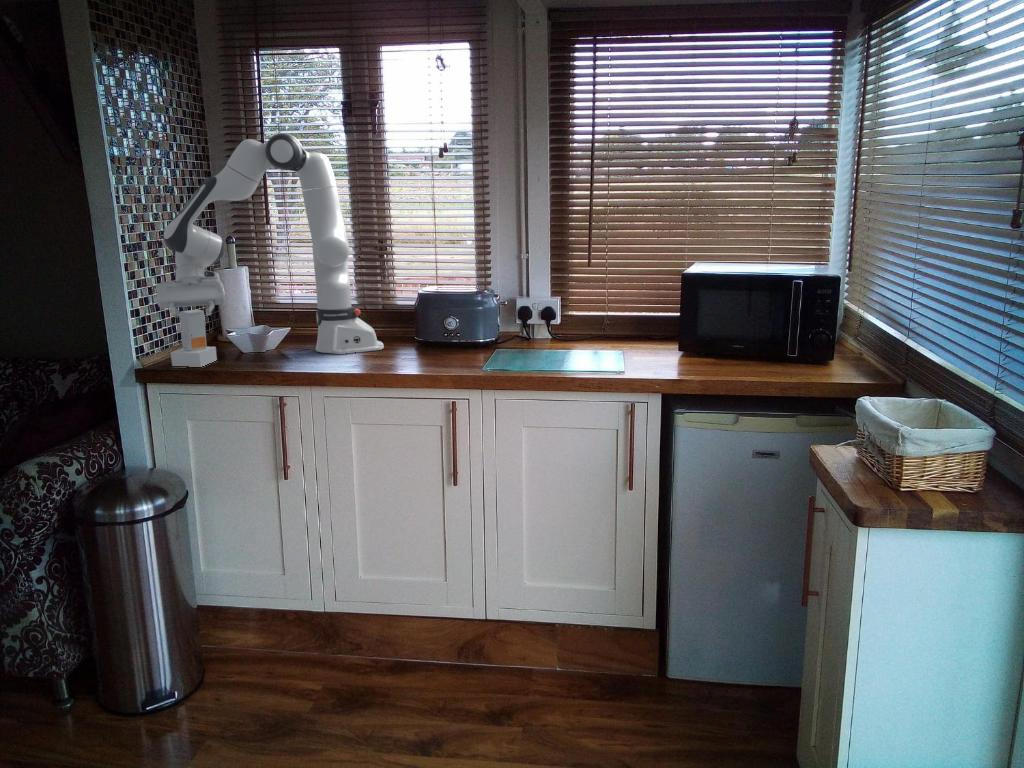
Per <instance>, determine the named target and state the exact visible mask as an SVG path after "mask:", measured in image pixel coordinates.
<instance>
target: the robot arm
mask: <svg viewBox="0 0 1024 768" xmlns="http://www.w3.org/2000/svg"><path fill="white" fill-rule="evenodd" d="M270 168H277V169H278V170H282V171H290V172H291V171H292V172H295V174H297V176H298V179H299V182H300V188H301V193H302V198H303V203H304V207H305V215H306V218H307V223H308V227H309V232H310V237H311V242H312V247H311V248H312V259H313V268H314V280H315V290H316V305H317V307H316V310H315V311H316V313H315V316H316V324H317V326H318V327H317V328H318V329H317V340H316V347H315V351H316V352H318V353H325V354H334V355H345V354H346V353H347V354H355V352H356V353H363V352H371V351H372V352H373V351H380V350H382V349H384V347H385V346H384V343H383V342H382V341H380V340H378V338H377V334H376V332H375V329H374V328H373V327H372V326H371V325H370V324H368V323H367V322H365V321H364V320H362V319H361V318H359V316H360V315H361V313H362V312H361V310H360V308H356V307H354V306H352V294H351V293H352V292H351V279H350V273H349V263H348V258H349V256H350V246H349V245H350V244H349V239H348V235H347V232H346V227H345V222H344V218H343V213H342V208H341V201H340V198H339V192H338V187H337V182H336V177H335V174H334V170H333V168H332V164H331V162H330V160H329V157H328V156H327V155H325V154H324V153H321V152H315V151H314V152H309V151H306V150H305V149H304V146H303V144H302V142H301V141H299V139H298V138H297V137H296V136H293V135H292V134H289V133H284V132H283V133H282V132H281V133H276V134H274V135H272V136H271V137H270V138H269V139H268V140H267V141H266V143H263V142H260V141H259V140H255V139H251V138H248V139H247V138H246V139H244V140H242V141H241V142H240V143H239V144H238V145H237V147H236V148H235V149H234V151H233V152H232V154H231V155H230V157H229V158H228V161H227V162H226V164H225V166H224V167H223V168H222V170H221V171H220V172H219V173H218V174H216V175H214V176H209V177H206V178H205V180H204V181H202V183H201V184H200V185H199V186H198V187H197V189H196V190H195V191H194V192H193V194H192V195H191V197H190V198H189V199H188V200H187V202H186V203H185V204H184V206H183V207H182V208H181V209H180V211H179V212H178V214H176V216H174V218H173V219H172V220H171V221H170V222H169V223H168V224H167V225H166V226H165V229H164V231H163V234H162V237H163V240H164V244H165V245H166V247H167V248H168V249H169V250H170V251H173V252H175V254H174V261H175V262H174V263H175V266H176V268H175V280H169V281H163V280H162V281H161V282H159V283H157V284H156V285H155V292H156V293H157V294H156V303H157V305H158V307H159V308H161V309H167V308H169V311H171V312H172V315H173V318H180V310H179V309H176V308H185V307H187V308H188V307H199V306H201V307H202V306H205V315H206V316H212V311H213V310H214V309H215V306H217V305H225V304H226V302H227V299H226V293H225V289H224V284H223V283H222V281H221V278H220V275H219V272H217V271H211V270H206V268H210V267H211V266H213V265H215V264H216V263H218V262H219V261H220V260H221V259H222V258H223V256H224V252H225V243H224V240H223V238H222V237H221V235H218V234H217V233H214V232H212V231H210V230H208V229H205V228H202V227H200V226H197V225H195V224H194V223H195V221H196V220H197V218H198V217H199V216H200V214H201V213H202V212H203V211H204V209H205V208H206V207H207V206H208V205H209V204H210V203H213V202H215V201H231V202H236V201H237V202H239V201H244V200H246V199H248V198H251V197H252V196H253V194H254V193H255V191H256V189H257V188H258V186H259V184H260V183H261V181H262V178H263V176H264V175H265V173H266V172H267V171H268V169H270ZM206 306H208V307H206ZM347 354H346V355H347Z"/></svg>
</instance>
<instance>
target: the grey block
mask: <svg viewBox="0 0 1024 768" xmlns="http://www.w3.org/2000/svg"><path fill="white" fill-rule="evenodd" d="M217 358H218V357H217V347H216V346H207V348H205V349H198V350H192V351H189V350H183V347H182V348H179V349H176V350H173V351H171V352H170V359H171V365H172V366H189V367H202V366H204V367H206V366H205V365H207V364H209V363H212V362H214V361H216V360H217V361H218V359H217ZM217 361H216V362H217ZM214 363H215V362H214ZM212 364H213V363H212ZM209 365H210V364H209ZM207 366H208V365H207ZM202 368H203V367H202Z"/></svg>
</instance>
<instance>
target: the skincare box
mask: <svg viewBox="0 0 1024 768" xmlns="http://www.w3.org/2000/svg"><path fill="white" fill-rule="evenodd" d="M205 319H206V318H205V311H204V310H203V309H202V310H201V309H191V310H190V309H189V310H184V311H179V320H180V332H181V333H180V335H181V342H182V343H181V344H182V348H183V350H189V351H192V350H198V349H205V348H207V347H208V346H207V334H206V333H207V332H206V320H205Z"/></svg>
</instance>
